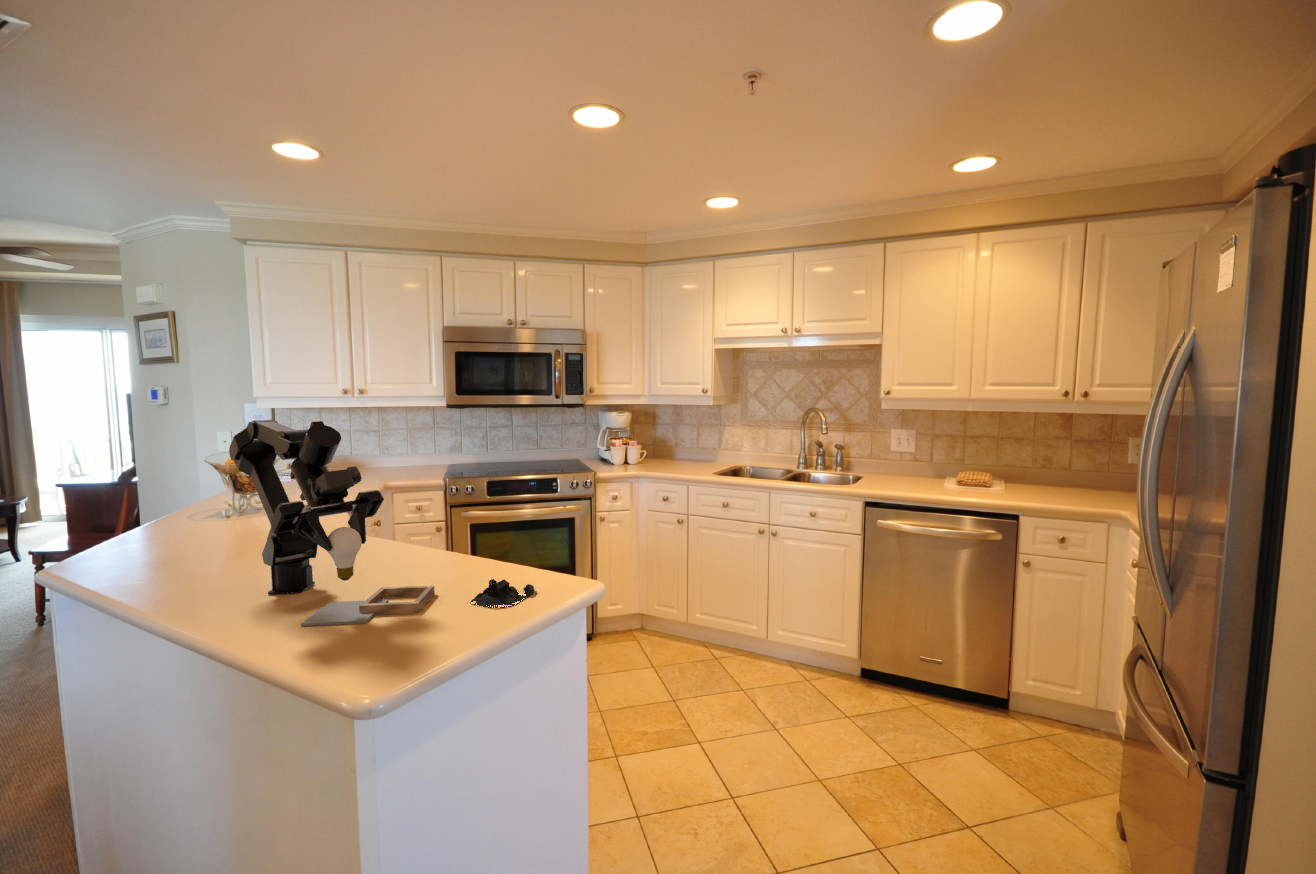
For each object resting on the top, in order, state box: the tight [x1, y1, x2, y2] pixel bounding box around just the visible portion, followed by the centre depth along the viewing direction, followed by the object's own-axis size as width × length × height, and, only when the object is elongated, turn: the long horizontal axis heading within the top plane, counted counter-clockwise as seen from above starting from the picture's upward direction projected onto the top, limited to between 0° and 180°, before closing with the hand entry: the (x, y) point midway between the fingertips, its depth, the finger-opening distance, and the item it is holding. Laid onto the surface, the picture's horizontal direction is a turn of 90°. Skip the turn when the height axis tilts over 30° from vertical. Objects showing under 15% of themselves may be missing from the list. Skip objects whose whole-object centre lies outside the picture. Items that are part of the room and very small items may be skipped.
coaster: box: [300, 599, 390, 627], centre depth 111 cm, size 11×11×1 cm
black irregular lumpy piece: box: [470, 578, 535, 609], centre depth 118 cm, size 12×10×5 cm
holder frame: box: [359, 584, 436, 616], centre depth 115 cm, size 10×10×2 cm
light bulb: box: [326, 526, 363, 582], centre depth 110 cm, size 6×6×10 cm
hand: (347, 546), depth 109 cm, fingers closed on light bulb, 6 cm apart
